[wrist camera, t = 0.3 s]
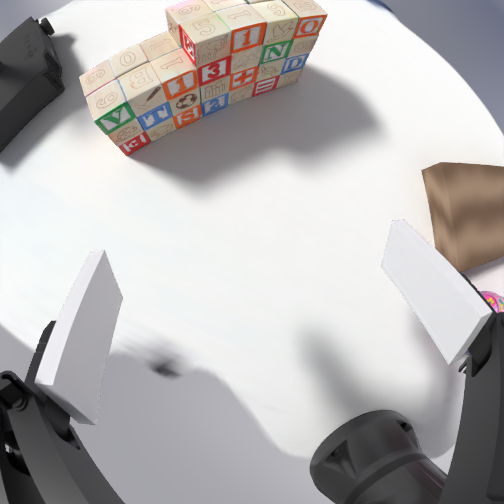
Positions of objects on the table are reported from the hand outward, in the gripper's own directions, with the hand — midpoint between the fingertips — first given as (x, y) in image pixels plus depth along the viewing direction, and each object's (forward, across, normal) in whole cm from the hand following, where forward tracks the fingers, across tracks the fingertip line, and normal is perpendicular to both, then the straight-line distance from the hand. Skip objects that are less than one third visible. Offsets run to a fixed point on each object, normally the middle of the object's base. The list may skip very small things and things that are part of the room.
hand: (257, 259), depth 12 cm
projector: (+29, +31, -15) cm, 45 cm away
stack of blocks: (+23, +2, -6) cm, 24 cm away
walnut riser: (+14, -37, +7) cm, 40 cm away
